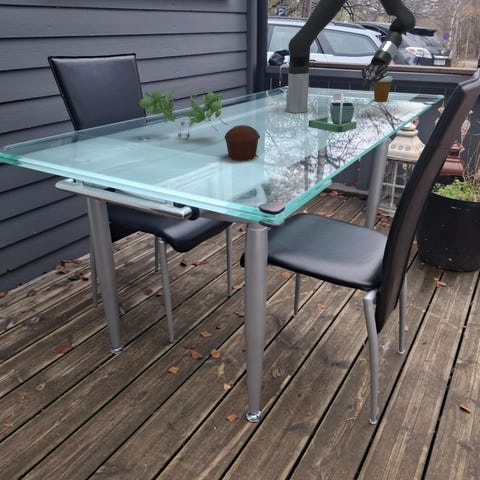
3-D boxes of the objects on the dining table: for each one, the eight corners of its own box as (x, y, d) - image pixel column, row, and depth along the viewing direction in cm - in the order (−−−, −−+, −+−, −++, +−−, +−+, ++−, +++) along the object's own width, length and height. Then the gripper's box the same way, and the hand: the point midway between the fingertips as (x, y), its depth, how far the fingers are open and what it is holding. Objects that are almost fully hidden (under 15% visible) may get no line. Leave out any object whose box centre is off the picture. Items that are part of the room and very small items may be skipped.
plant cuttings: (158, 147, 191) (129, 124, 171) (167, 109, 194) (140, 82, 173) (235, 154, 179) (214, 130, 159) (244, 113, 182) (224, 84, 161)
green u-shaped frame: (308, 126, 189) (309, 89, 182) (324, 122, 195) (326, 86, 188) (339, 132, 178) (342, 93, 171) (356, 128, 184) (359, 90, 178)
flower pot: (353, 129, 182) (355, 106, 178) (330, 129, 183) (332, 106, 179) (350, 124, 190) (351, 102, 186) (328, 124, 191) (330, 102, 187)
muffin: (232, 163, 145) (231, 132, 141) (219, 155, 154) (218, 125, 150) (266, 158, 149) (266, 127, 145) (251, 150, 158) (251, 121, 154)
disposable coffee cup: (392, 100, 238) (395, 75, 232) (387, 103, 231) (389, 78, 225) (374, 99, 242) (376, 75, 237) (368, 101, 235) (370, 77, 230)
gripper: (368, 48, 197) (347, 80, 195) (395, 49, 188) (374, 84, 186) (373, 60, 203) (354, 92, 201) (400, 62, 194) (380, 96, 192)
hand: (364, 88), depth 194 cm, fingers closed
